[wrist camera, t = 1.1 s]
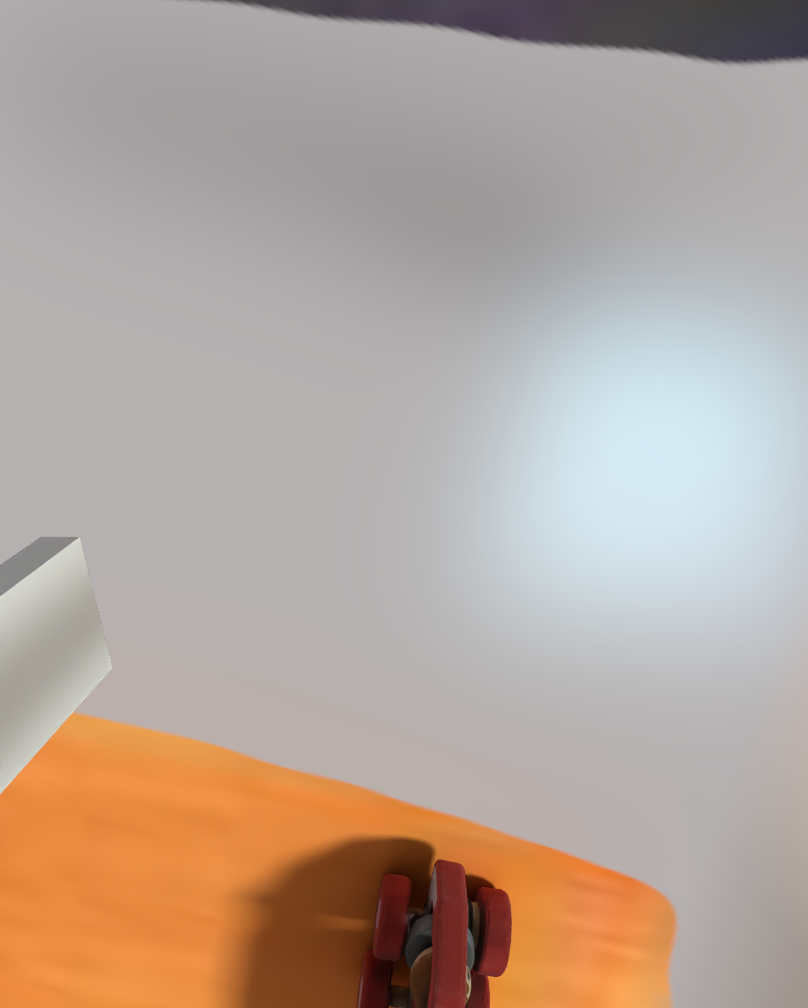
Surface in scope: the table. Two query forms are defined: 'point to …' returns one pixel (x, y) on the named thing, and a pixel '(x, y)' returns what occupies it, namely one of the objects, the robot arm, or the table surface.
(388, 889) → the red wheeled toy
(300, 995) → the table surface
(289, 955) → the table surface
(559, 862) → the table surface
